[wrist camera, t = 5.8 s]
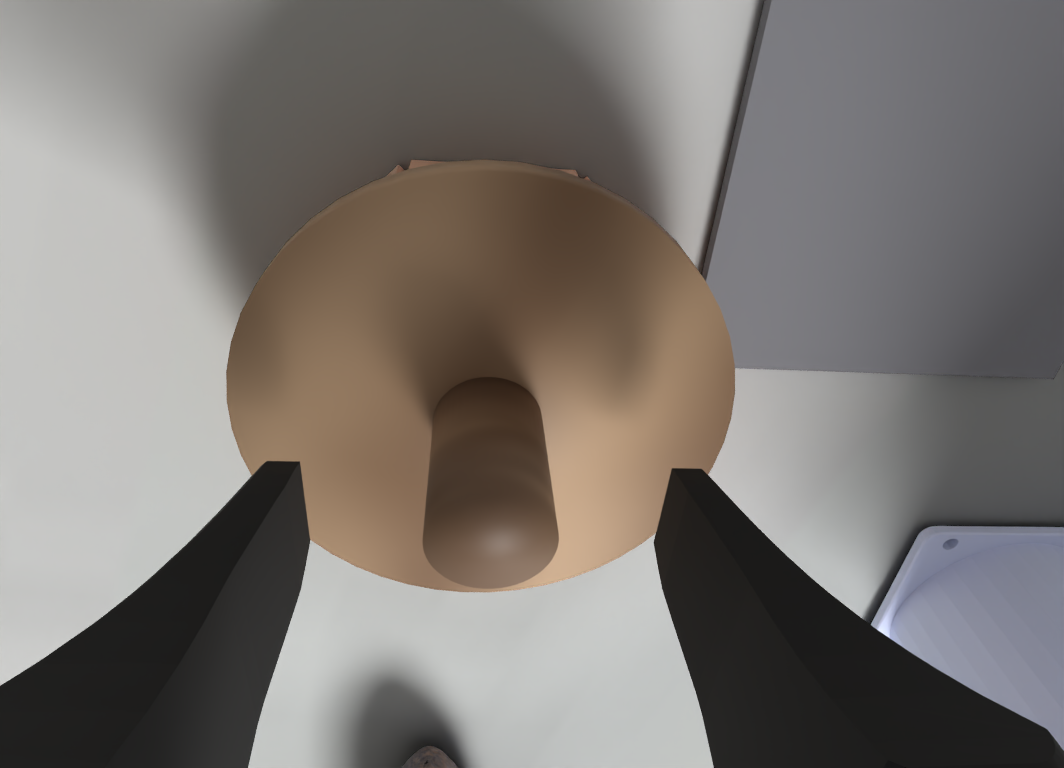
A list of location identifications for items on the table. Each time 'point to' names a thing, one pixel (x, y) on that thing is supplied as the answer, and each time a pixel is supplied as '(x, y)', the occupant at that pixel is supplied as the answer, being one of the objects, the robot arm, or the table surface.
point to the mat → (897, 190)
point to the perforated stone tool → (429, 759)
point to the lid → (481, 374)
